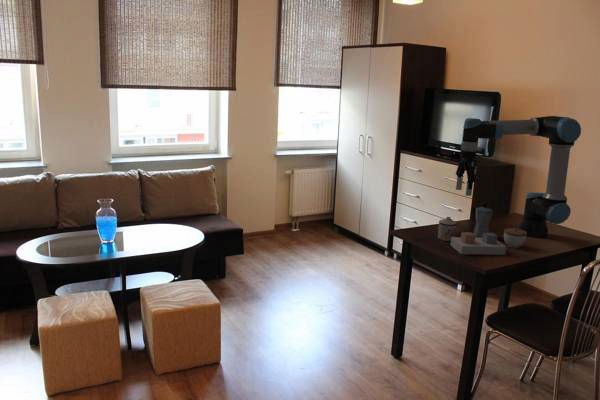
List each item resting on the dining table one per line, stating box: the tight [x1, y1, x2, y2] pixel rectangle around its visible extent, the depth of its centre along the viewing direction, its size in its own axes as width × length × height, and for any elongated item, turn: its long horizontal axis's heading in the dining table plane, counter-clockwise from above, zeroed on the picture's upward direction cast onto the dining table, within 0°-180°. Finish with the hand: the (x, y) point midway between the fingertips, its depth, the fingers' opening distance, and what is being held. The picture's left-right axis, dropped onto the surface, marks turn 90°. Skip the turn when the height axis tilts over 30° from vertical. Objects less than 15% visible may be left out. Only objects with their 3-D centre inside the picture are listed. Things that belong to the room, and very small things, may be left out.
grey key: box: [482, 232, 498, 244], centre depth 256 cm, size 5×5×4 cm
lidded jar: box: [503, 227, 527, 249], centre depth 265 cm, size 11×11×9 cm
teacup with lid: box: [437, 216, 459, 242], centre depth 273 cm, size 12×9×12 cm
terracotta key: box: [460, 231, 476, 244], centre depth 255 cm, size 5×5×4 cm
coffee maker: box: [472, 202, 494, 238], centre depth 281 cm, size 15×9×18 cm, turn 20°
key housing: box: [450, 236, 508, 256], centre depth 257 cm, size 22×14×4 cm, turn 95°
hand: (463, 192), depth 262 cm, fingers open, 13 cm apart
